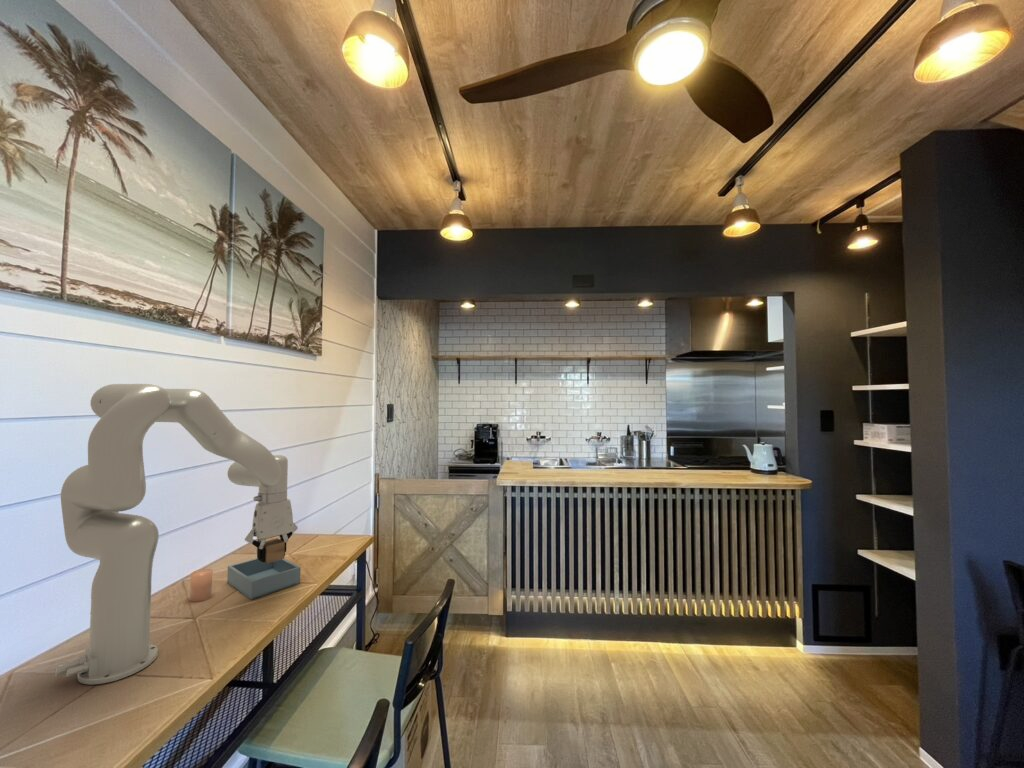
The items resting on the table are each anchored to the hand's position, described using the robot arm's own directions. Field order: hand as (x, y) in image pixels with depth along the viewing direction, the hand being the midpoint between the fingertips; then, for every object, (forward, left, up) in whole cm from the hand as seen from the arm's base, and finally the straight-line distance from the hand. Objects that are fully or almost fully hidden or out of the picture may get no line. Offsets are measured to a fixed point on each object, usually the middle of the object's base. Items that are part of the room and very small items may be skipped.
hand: (271, 557), depth 128 cm
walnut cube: (0, 0, -1) cm, 1 cm away
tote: (0, +4, -9) cm, 10 cm away
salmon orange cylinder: (-15, +8, -9) cm, 20 cm away
